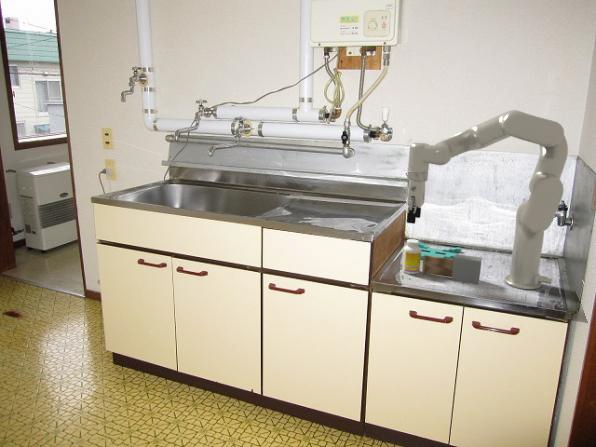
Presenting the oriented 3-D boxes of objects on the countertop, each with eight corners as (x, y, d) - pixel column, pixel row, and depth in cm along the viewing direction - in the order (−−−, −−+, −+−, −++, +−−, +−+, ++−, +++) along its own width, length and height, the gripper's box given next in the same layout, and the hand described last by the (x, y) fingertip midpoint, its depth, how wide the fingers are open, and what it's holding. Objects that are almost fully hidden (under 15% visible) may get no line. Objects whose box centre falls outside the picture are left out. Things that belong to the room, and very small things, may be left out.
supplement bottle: (422, 274, 191) (424, 242, 187) (406, 275, 189) (408, 243, 186) (415, 268, 197) (417, 238, 194) (399, 269, 196) (401, 238, 192)
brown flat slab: (459, 277, 186) (461, 260, 184) (459, 278, 185) (461, 261, 183) (422, 271, 192) (424, 254, 190) (422, 272, 191) (423, 255, 189)
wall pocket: (479, 280, 185) (481, 257, 183) (478, 284, 181) (480, 261, 178) (453, 276, 189) (455, 254, 187) (451, 280, 184) (453, 257, 182)
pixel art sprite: (416, 246, 227) (404, 258, 210) (417, 241, 227) (405, 253, 210) (461, 252, 218) (452, 266, 201) (461, 248, 218) (452, 261, 201)
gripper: (423, 180, 174) (418, 226, 179) (431, 174, 189) (427, 216, 194) (402, 178, 177) (398, 224, 182) (412, 172, 192) (408, 214, 197)
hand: (413, 220), depth 188 cm, fingers open, 9 cm apart
